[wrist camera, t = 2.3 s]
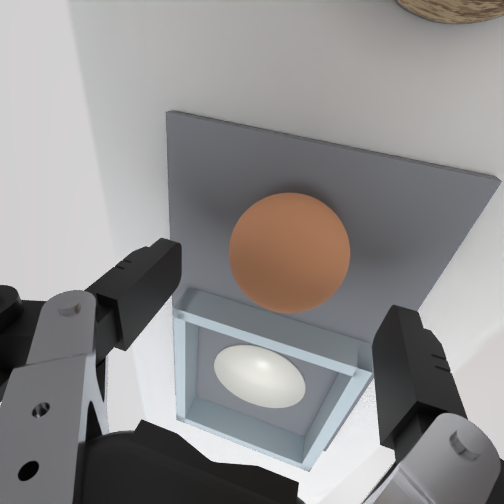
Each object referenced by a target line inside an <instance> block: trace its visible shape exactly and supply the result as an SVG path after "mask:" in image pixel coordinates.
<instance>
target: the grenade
mask: <svg viewBox="0 0 504 504" xmlns="http://www.w3.org/2000/svg"><path fill="white" fill-rule="evenodd" d="M396 1H397V2H398V3H399V4H400V5H401V6H402V7H404V8H405V9H407V10H408V11H410V12H411V13H413V14H416V15H418V16H421V17H423V18H425V19H428V20H430V21H435V22H440V23H446V24H454V23H475V22H481V21H486V20H490V19H493V18H496V17H499V16H502V15H504V0H396Z"/></svg>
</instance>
